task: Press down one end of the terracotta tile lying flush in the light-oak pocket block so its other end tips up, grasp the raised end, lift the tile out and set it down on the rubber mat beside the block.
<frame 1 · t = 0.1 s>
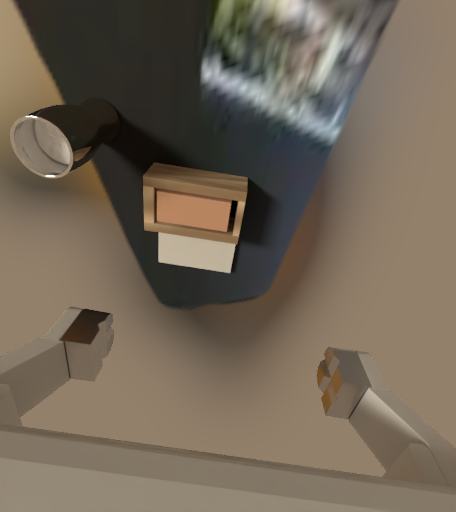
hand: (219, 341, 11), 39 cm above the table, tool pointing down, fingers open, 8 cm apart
tile: (194, 207, 46), point 4 cm above the table, touching pocket block
pocket block: (198, 196, 50), on the table
mat: (197, 245, 56), on the table
beer glass: (101, 120, 44), on the table
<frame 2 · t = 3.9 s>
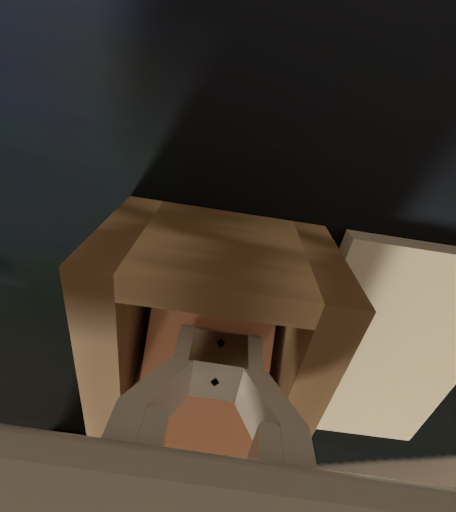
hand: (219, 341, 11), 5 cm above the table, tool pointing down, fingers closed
tile: (199, 408, 13), point 5 cm above the table, tilted 34°, touching pocket block
pocket block: (209, 331, 17), on the table
mat: (380, 348, 17), on the table
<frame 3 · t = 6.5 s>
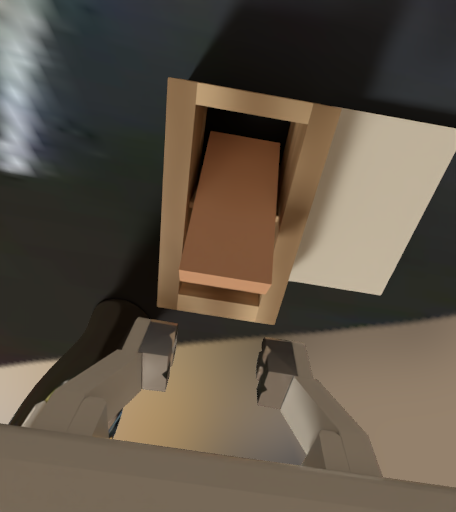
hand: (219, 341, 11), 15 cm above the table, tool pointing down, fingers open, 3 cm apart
tile: (233, 211, 20), point 5 cm above the table, tilted 58°, touching pocket block
pocket block: (234, 196, 24), on the table
mat: (357, 211, 24), on the table
beer glass: (122, 320, 32), on the table
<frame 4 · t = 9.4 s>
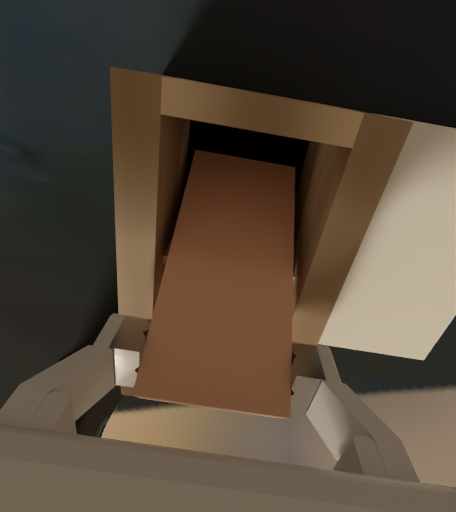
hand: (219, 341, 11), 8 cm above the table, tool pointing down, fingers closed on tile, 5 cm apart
tile: (228, 270, 13), point 5 cm above the table, tilted 59°, touching gripper, pocket block
pocket block: (231, 235, 18), on the table
mat: (398, 255, 18), on the table
beer glass: (91, 378, 25), on the table
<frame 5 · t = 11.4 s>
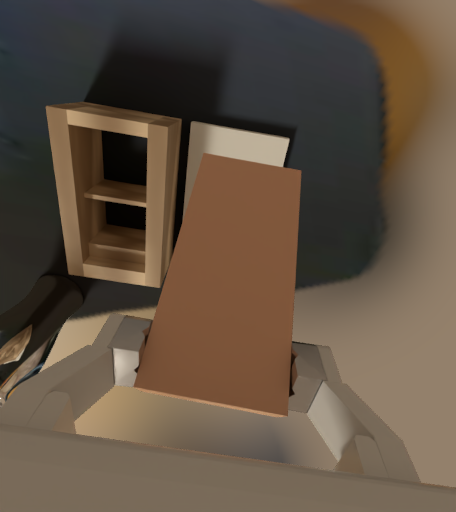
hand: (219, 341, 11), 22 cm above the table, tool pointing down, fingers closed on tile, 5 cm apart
tile: (232, 270, 13), point 18 cm above the table, tilted 60°, touching gripper
pocket block: (133, 189, 31), on the table
mat: (228, 200, 31), on the table
beer glass: (60, 292, 38), on the table
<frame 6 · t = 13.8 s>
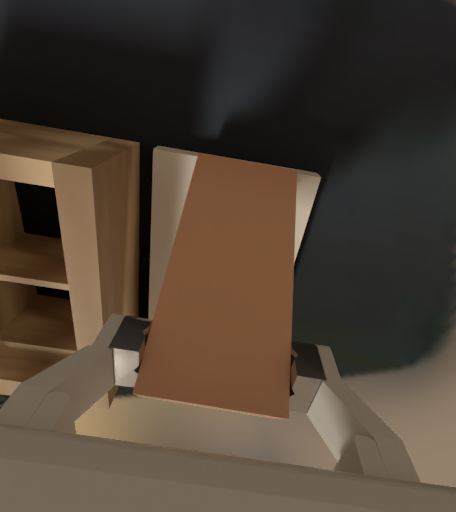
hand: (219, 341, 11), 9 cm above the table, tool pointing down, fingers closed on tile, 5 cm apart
tile: (229, 272, 13), point 6 cm above the table, tilted 59°, touching gripper, mat
pocket block: (71, 248, 20), on the table
mat: (220, 264, 20), on the table
when the fingers open (9 cm above the table, at t = 13.8 s): tile drops 4 cm, resting on mat.
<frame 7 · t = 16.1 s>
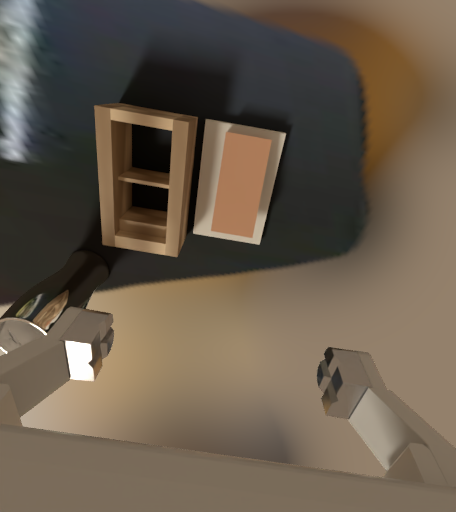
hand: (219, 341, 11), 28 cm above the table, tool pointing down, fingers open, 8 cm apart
tile: (239, 186, 35), point 2 cm above the table, tilted 12°, touching mat
pocket block: (155, 176, 37), on the table
mat: (235, 185, 37), on the table
beer glass: (89, 266, 45), on the table
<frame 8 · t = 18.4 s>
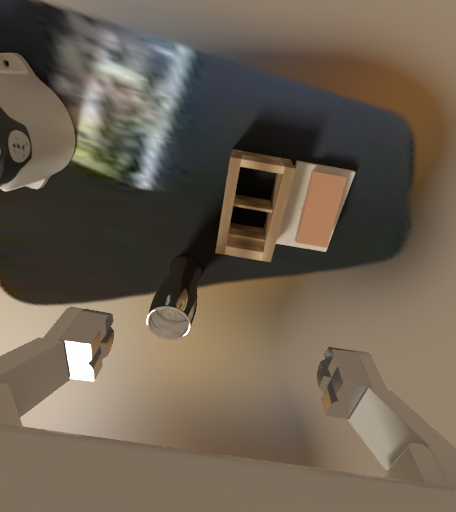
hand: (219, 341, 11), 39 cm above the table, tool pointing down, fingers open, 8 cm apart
tile: (318, 209, 47), point 2 cm above the table, tilted 12°, touching mat
pocket block: (251, 200, 49), on the table
mat: (311, 208, 49), on the table
beer glass: (186, 268, 57), on the table
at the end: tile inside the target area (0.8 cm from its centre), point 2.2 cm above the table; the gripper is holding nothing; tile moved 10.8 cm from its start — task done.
